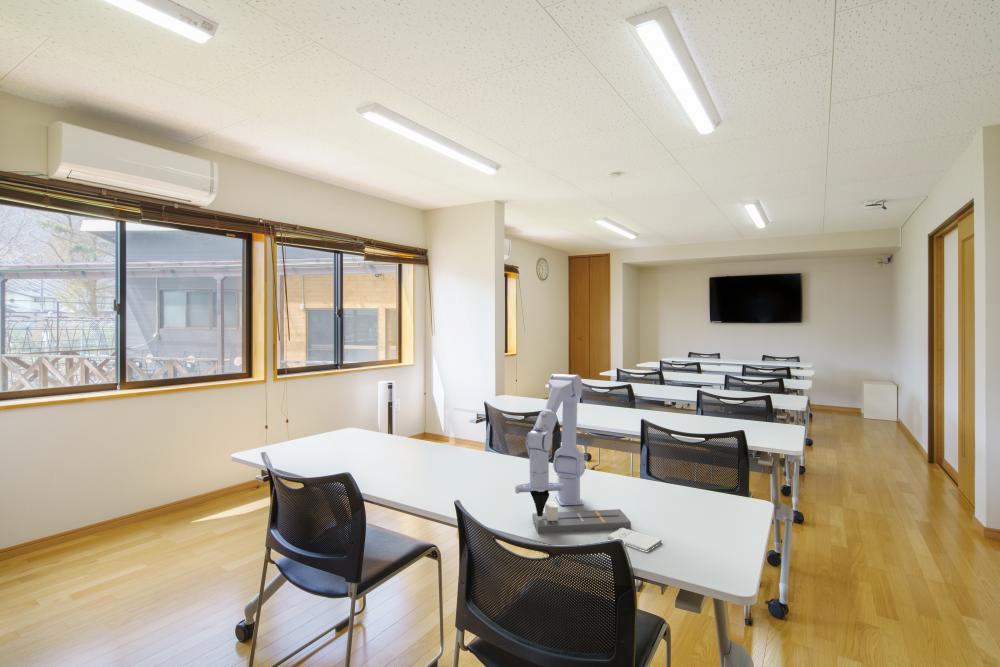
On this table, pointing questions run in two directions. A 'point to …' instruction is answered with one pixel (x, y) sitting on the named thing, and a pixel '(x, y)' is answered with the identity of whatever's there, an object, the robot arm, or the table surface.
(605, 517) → the console
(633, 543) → the external hard drive
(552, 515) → the fader tab
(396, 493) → the table surface
